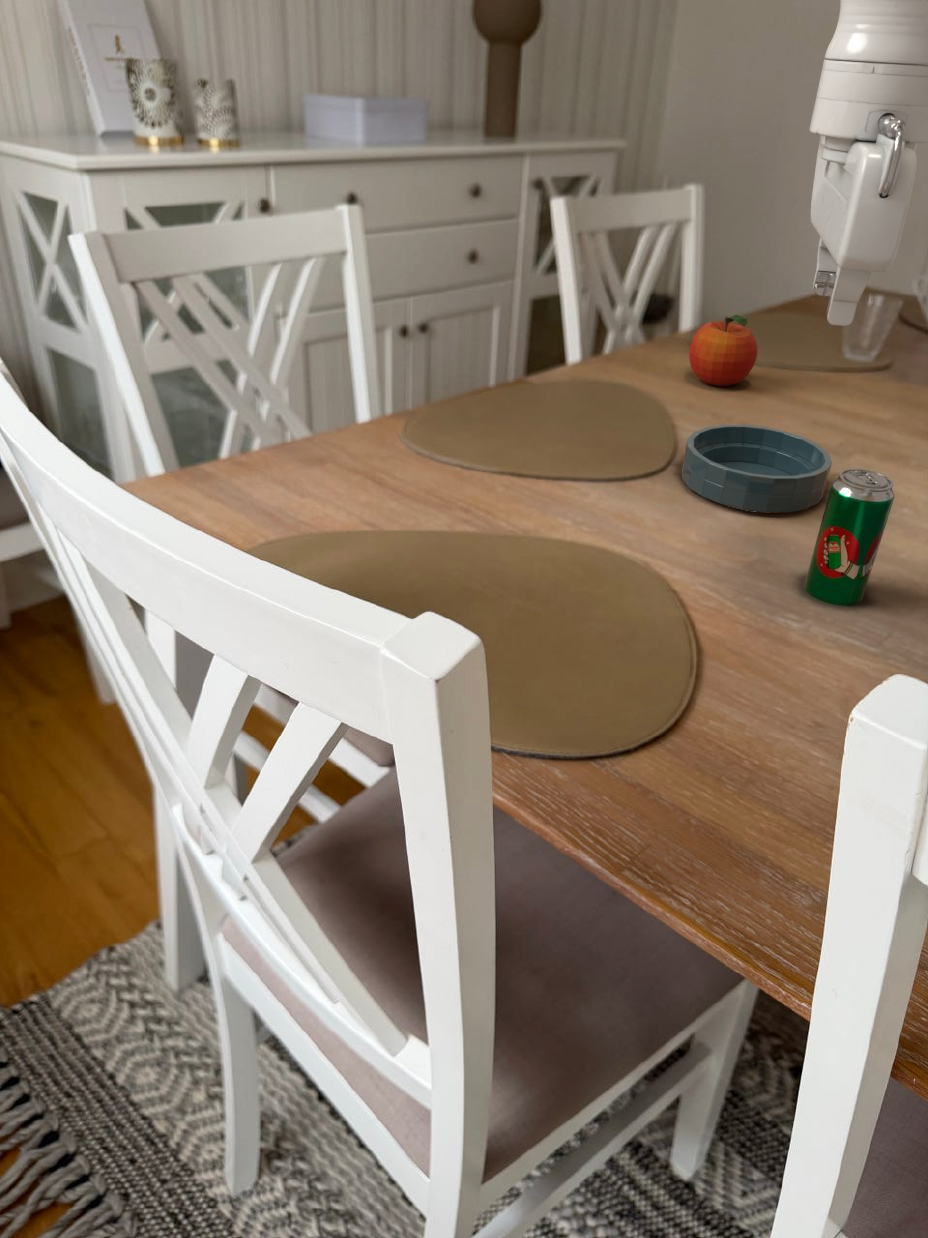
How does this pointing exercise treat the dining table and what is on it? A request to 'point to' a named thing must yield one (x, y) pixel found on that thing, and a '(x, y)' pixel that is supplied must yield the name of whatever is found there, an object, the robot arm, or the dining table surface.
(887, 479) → the soda can
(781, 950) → the dining table surface
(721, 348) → the fruit
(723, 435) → the bowl
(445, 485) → the dining table surface
